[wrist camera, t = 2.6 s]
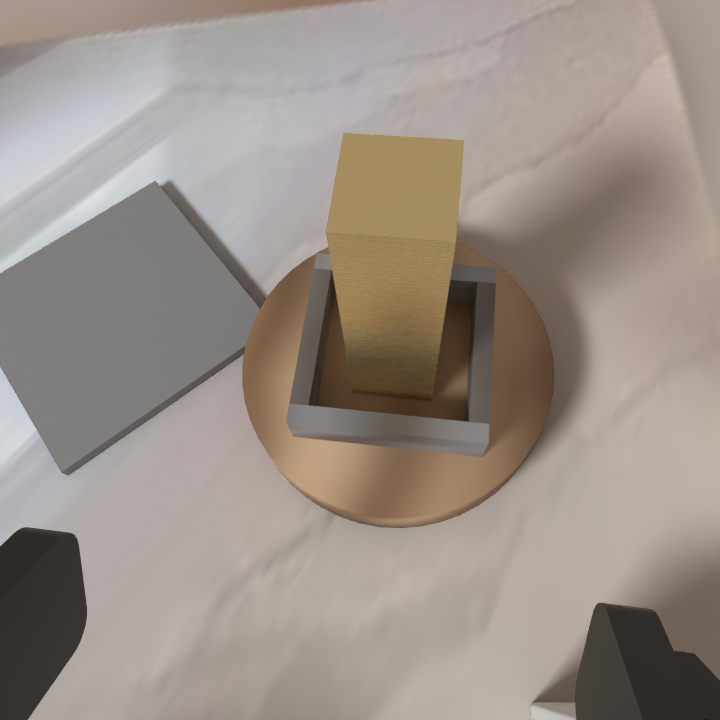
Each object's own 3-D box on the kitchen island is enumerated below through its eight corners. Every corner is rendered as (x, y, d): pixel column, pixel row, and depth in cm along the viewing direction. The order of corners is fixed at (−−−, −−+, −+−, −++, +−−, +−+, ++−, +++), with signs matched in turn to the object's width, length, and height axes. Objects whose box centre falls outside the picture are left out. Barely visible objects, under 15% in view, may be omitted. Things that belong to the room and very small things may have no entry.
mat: (-33, 302, 34) (-40, 297, 33) (159, 187, 36) (155, 180, 36) (67, 475, 30) (61, 472, 29) (276, 331, 32) (274, 325, 32)
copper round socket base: (226, 508, 29) (198, 485, 25) (280, 250, 34) (265, 197, 30) (540, 546, 27) (566, 528, 23) (543, 271, 33) (564, 218, 29)
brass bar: (352, 392, 28) (325, 232, 17) (362, 323, 29) (343, 132, 18) (431, 400, 28) (456, 241, 17) (437, 329, 29) (463, 140, 18)
